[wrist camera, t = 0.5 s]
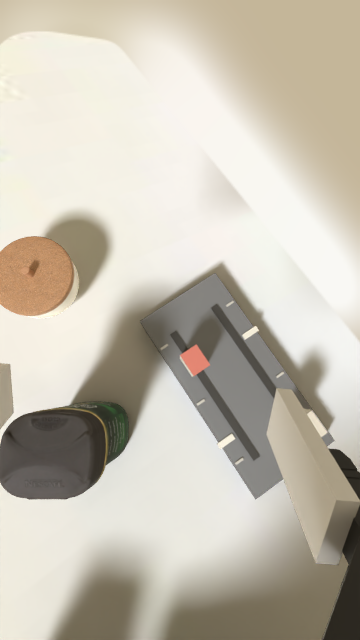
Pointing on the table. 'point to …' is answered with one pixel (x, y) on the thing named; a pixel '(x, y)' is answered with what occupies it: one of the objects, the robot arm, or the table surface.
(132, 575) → the table surface
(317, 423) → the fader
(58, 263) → the lidded jar
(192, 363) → the block
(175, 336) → the console
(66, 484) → the coffee jar
